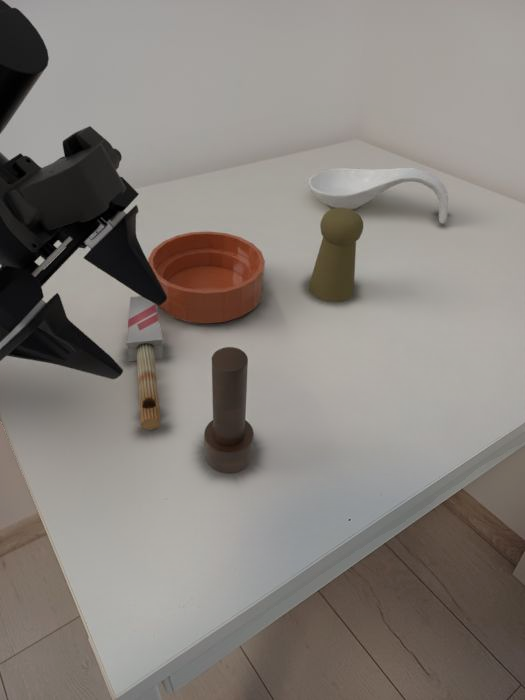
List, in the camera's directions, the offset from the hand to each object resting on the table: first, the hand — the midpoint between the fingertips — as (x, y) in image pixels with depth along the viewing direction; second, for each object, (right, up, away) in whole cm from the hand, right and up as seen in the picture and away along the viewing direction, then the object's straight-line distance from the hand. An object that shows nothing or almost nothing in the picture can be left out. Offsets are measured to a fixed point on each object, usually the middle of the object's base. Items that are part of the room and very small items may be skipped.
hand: (143, 335), depth 40 cm
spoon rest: (+28, +23, +48) cm, 60 cm away
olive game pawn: (+18, +7, +29) cm, 35 cm away
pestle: (+6, -11, +8) cm, 15 cm away
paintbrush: (-3, -2, +17) cm, 17 cm away
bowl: (+2, +6, +27) cm, 28 cm away
